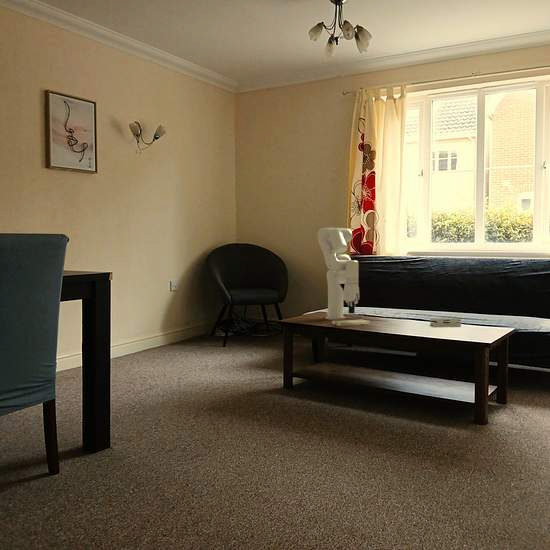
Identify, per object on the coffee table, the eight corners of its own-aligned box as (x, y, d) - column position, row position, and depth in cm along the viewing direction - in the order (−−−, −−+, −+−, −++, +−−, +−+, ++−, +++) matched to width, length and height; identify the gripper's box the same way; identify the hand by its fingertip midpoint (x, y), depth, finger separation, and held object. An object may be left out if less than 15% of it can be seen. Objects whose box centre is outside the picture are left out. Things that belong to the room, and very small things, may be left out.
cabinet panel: (332, 324, 326) (332, 318, 325) (360, 322, 335) (360, 316, 335) (342, 326, 317) (342, 320, 317) (370, 324, 326) (370, 318, 326)
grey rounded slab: (462, 326, 317) (455, 326, 327) (462, 318, 317) (454, 318, 327) (433, 327, 315) (427, 326, 325) (433, 318, 316) (427, 318, 325)
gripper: (339, 281, 330) (338, 312, 330) (354, 282, 316) (353, 314, 317) (349, 281, 333) (349, 311, 334) (364, 282, 320) (364, 314, 321)
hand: (351, 313), depth 325 cm, fingers closed
